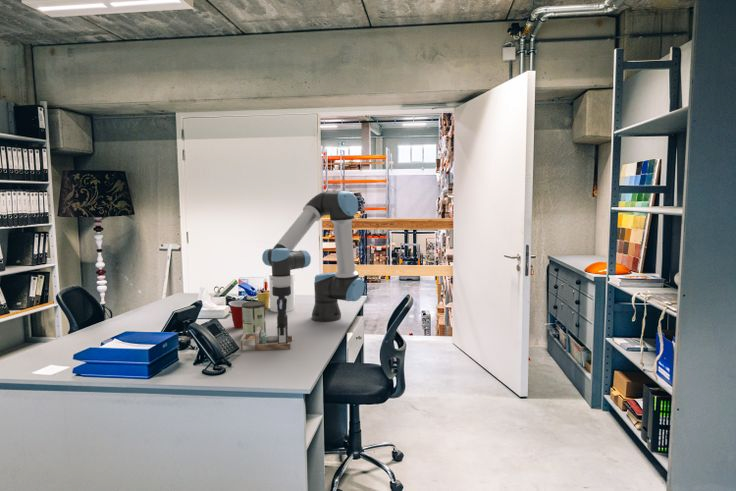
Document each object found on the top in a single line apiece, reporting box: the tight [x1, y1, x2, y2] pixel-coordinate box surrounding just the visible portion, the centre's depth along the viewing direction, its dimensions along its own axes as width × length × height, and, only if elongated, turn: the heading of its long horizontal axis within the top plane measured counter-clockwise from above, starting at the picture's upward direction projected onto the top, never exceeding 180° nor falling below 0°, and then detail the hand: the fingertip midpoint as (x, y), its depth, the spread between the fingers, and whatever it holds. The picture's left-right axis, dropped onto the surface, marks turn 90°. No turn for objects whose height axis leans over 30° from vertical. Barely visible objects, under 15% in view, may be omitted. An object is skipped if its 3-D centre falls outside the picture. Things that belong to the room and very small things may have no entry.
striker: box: [261, 314, 289, 344], centre depth 197 cm, size 10×4×12 cm, turn 96°
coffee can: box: [242, 300, 267, 335], centre depth 214 cm, size 10×10×14 cm
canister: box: [268, 271, 296, 313], centre depth 263 cm, size 14×14×20 cm
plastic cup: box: [228, 300, 249, 330], centre depth 226 cm, size 11×11×12 cm
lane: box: [239, 327, 293, 351], centre depth 197 cm, size 20×12×6 cm, turn 96°
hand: (282, 340), depth 198 cm, fingers closed on striker, 3 cm apart
